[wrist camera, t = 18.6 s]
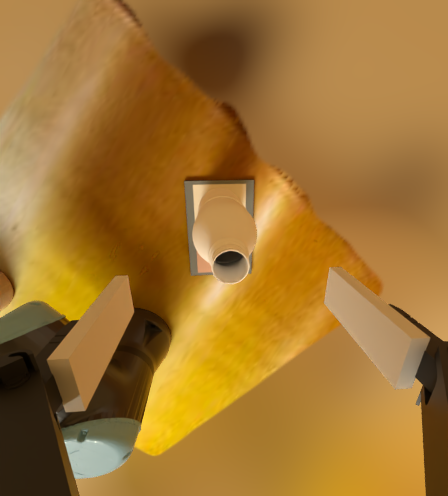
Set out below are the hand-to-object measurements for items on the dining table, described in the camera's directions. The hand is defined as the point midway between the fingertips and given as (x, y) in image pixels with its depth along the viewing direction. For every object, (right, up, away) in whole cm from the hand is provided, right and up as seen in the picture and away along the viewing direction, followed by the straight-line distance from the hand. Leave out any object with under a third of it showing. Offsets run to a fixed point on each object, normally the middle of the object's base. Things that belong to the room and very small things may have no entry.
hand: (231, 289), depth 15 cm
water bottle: (-1, +10, +26) cm, 28 cm away
